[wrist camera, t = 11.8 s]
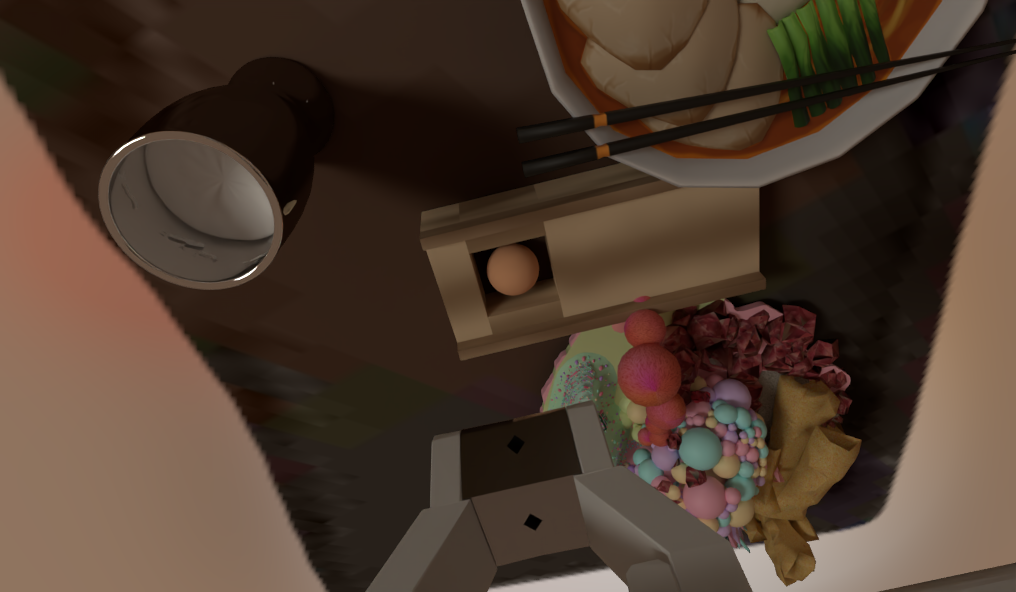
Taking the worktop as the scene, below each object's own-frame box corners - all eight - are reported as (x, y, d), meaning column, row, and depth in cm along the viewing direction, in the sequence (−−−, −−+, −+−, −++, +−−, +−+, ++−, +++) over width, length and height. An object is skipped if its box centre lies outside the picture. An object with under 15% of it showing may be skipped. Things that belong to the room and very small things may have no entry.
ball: (482, 238, 42) (480, 264, 39) (533, 230, 41) (535, 256, 38) (492, 280, 43) (491, 309, 41) (541, 273, 43) (543, 301, 40)
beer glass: (335, 178, 38) (281, 307, 26) (217, 154, 37) (98, 278, 24) (349, 65, 35) (295, 149, 22) (220, 33, 33) (82, 104, 21)
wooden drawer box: (421, 212, 40) (419, 239, 37) (738, 133, 39) (766, 154, 36) (459, 327, 45) (460, 360, 42) (740, 260, 44) (765, 288, 41)
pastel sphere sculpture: (881, 309, 47) (978, 365, 39) (778, 546, 55) (839, 635, 47) (571, 261, 43) (604, 312, 35) (508, 525, 51) (522, 619, 43)
